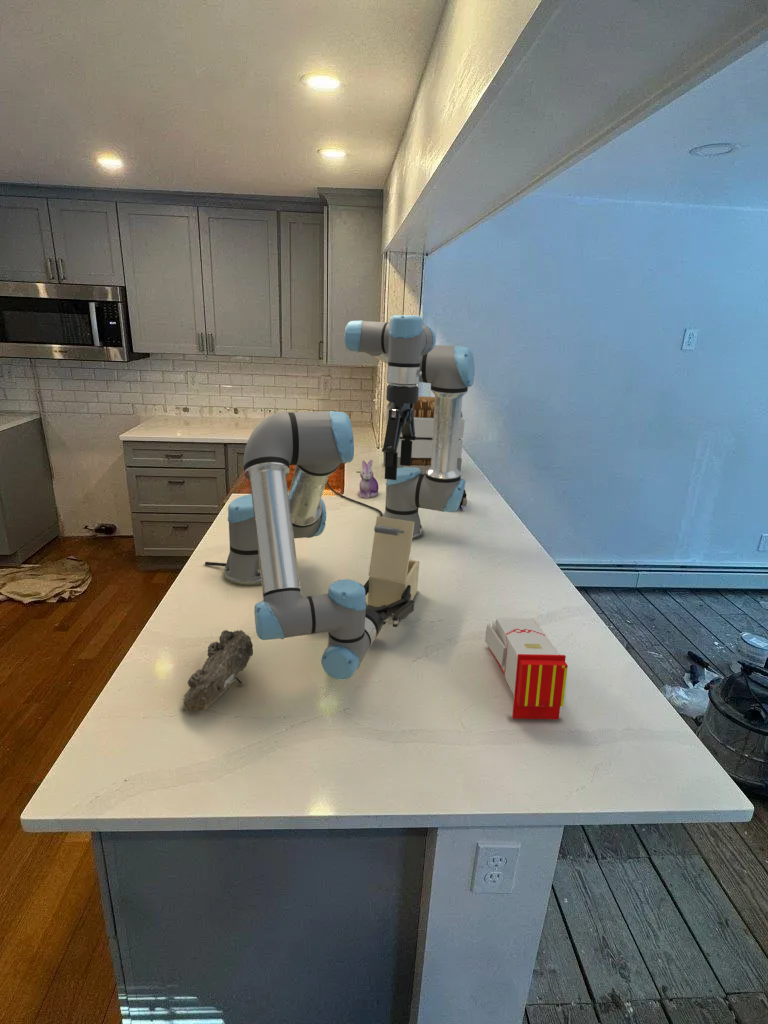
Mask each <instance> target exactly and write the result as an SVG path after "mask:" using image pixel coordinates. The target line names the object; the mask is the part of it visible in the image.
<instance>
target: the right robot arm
mask: <svg viewBox="0 0 768 1024" xmlns="http://www.w3.org/2000/svg"><path fill="white" fill-rule="evenodd" d="M343 338H344V339H343V340H344V345H345V347H346V349H347V351H349V352H355V353H365V354H367V355H370V356H371V357H373V358H375V359H377V360H379V361H380V362H382V363H384V364H385V365H387V371H386V372H387V373H386V382H387V384H388V385H386V397H385V398H386V401H387V402H388V403H389V402H393V403H394V407H393V409H389V415H388V423H386V426H387V429H386V428H385V433H384V434H385V436H384V441H383V446H382V448H381V452H382V453H384V452H386V459H385V466H384V480H386V482H385V504H384V505H385V507H384V508H385V509H384V513H383V512H382V510H380V509H379V508H376V507H374V506H371V505H369V504H367V503H363V502H361V501H358V500H355V499H353V498H350V497H347V496H345V495H344V494H341V493H339V492H337V491H336V490H335V489H333V488H332V486H331V485H330V484H329V482H328V481H327V483H326V486H327V487H328V488H329V489H330V491H331V492H332V493H334V494H335V495H336V496H337V495H338V496H340V497H341V498H343V499H345V500H347V501H348V500H349V501H351V502H354V503H357V504H359V505H361V506H365V507H367V508H369V509H372V510H374V511H377V512H378V513H379V515H380V516H379V517H385V518H392V519H398V520H405V521H412V522H415V523H414V530H413V537H412V540H415V539H418V538H420V537H421V536H422V535H423V531H424V526H423V525H422V524H421V518H420V515H419V509H424V510H431V511H435V512H436V511H437V512H441V513H456V512H457V511H458V509H459V508H460V507H459V505H460V503H461V500H462V496H463V492H464V489H466V480H465V479H464V478H461V475H462V473H460V471H459V470H458V469H457V456H458V444H459V431H460V419H461V418H462V417H461V412H462V406H463V398H464V397H463V396H464V395H466V394H467V393H468V391H469V388H471V387H473V385H474V383H475V370H476V369H475V358H474V354H473V352H472V350H471V348H469V347H466V346H459V345H444V344H443V345H441V344H436V341H437V337H436V332H435V330H434V329H433V328H432V327H431V326H430V325H428V324H425V323H424V319H423V318H422V316H421V315H408V314H393V315H391V317H390V320H389V322H388V321H387V322H386V321H385V322H384V321H371V320H363V319H360V320H350V321H349V322H348V323H347V324H346V326H345V329H344V335H343ZM419 383H425V384H430V391H431V392H432V394H434V397H435V405H434V422H433V438H432V455H431V465H430V466H429V468H427V469H426V470H425V473H422V470H421V468H419V467H417V466H411V456H412V441H411V440H416V436H415V427H414V412H413V408H414V403H416V402H417V401H418V397H419V392H420V391H419V390H420V388H419V386H418V384H419ZM401 432H402V437H403V439H405V440H401V456H400V465H403V466H404V467H402V468H397V459H398V453H397V447H398V443H399V439H400V435H401ZM390 446H392V447H390ZM458 507H459V508H458Z"/></svg>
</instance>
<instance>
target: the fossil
mask: <svg viewBox="0 0 768 1024" xmlns="http://www.w3.org/2000/svg"><path fill="white" fill-rule="evenodd" d="M220 633H221V634H220V635H219V637H218V639H219V640H218V641H213V642H210V643H209V645H208V647H207V658H206V660H205V661H204V664H203V665H202V667H201V669H200V668H199V669H197V670H196V671H195V672H194V673H192V674H191V675H190V676H189V678H188V680H187V685H188V687H189V689H188V690H187V691H186V693H185V694H184V696H183V697H184V698H183V699H182V701H183V705H184V706H183V707H184V709H186V710H187V709H188V710H189V711H191V712H195V711H198V710H203V709H204V710H206V709H207V708H209V707H210V706H211V705H212V704H213V703H214V702H215V701H217V700H218V699H219V697H220V696H221V695H223V693H225V692H226V691H227V690H228V689H229V688H230V686H231V685H232V683H233V682H235V681H237V682H238V684H240V685H241V684H242V683H243V682H242V680H241V679H240V678H239V677H238V676H239V674H240V673H241V672H244V670H245V669H246V668H247V666H248V663H249V661H250V659H251V657H252V656H253V655H254V643H253V641H252V638H251V637H250V635H249V634H246V633H245V631H243V630H242V629H240V630H238V629H237V630H233V631H231V630H230V631H229V630H227V629H225V630H222V632H220Z"/></svg>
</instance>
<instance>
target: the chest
mask: <svg viewBox="0 0 768 1024" xmlns="http://www.w3.org/2000/svg"><path fill="white" fill-rule="evenodd" d="M419 570H420V561H419V560H415V559H411V558H409V565H408V572H407V578H406V582H401V581H396V580H390V579H385V578H379V577H373V576H368V579H369V590H368V594H367V606H368V605H371V606H374V607H380V606H383V605H386V606H387V605H389V604H391V603H394V602H396V601H398V600H400V599H401V596H402V594H403V593H404V591H405V589H406V588H407V586H408V585H411V590H410V594H411V600H413V601H414V598H415V597H416V595H417V593H418V586H419V585H418V584H419Z"/></svg>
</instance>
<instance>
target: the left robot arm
mask: <svg viewBox="0 0 768 1024" xmlns="http://www.w3.org/2000/svg"><path fill="white" fill-rule="evenodd" d="M353 431H354V430H353V426H352V423H351V419H350V417H349V415H348V414H347V413H346V412H345V411H333V410H329V411H328V410H327V411H323V410H322V411H293V412H292V411H290V412H289V411H279V412H276V413H273V414H270V415H268V416H267V417H265V418H264V419H262V420H261V421H260V422H259V423H258V424H257V425H256V427H255V428H254V429H253V430H252V432H251V434H250V436H249V438H248V440H247V442H246V445H245V447H244V448H245V449H244V453H243V459H242V460H243V461H242V462H243V463H242V464H243V473H244V474H243V475H244V477H245V478H246V479H247V480H249V483H250V492H251V493H249V494H244V495H242V496H238V497H236V498H235V499H233V500H232V501H231V502H230V503H229V504H228V507H227V522H228V533H229V534H228V536H229V538H228V540H229V541H228V542H229V553H228V556H227V560H226V562H217V561H215V562H213V561H204V565H205V566H215V567H224V578H225V579H226V580H227V582H229V583H231V584H234V585H236V586H237V585H238V586H246V587H250V586H260V585H261V591H262V598H263V599H262V601H258V602H256V603H255V604H254V610H253V612H254V613H253V615H254V625H255V632H256V635H257V638H258V639H260V640H262V641H270V640H279V639H280V640H285V639H287V638H293V637H294V638H295V637H302V636H307V635H314V634H324V633H327V634H328V635H327V637H328V638H327V639H328V640H327V642H328V643H327V647H326V648H325V649H324V651H323V654H322V656H321V659H320V661H321V662H320V663H321V667H322V669H323V671H324V672H325V674H326V675H328V677H330V678H332V679H335V680H339V681H344V680H348V679H349V678H351V677H353V675H354V674H355V673H356V671H357V670H358V669H359V668H360V667H361V664H362V662H363V660H364V659H365V657H366V655H367V653H368V651H369V650H370V648H371V646H372V645H373V644H374V642H375V640H376V638H377V637H378V635H379V633H380V631H381V630H382V627H383V626H385V625H386V624H391V625H392V628H397V627H398V626H399V624H400V623H401V622H402V621H403V620H405V618H407V617H408V616H409V615H410V614H411V613H413V612H414V611H415V600H414V599H413V600H411V594H410V590H411V585H408V586H407V588H406V589H405V591H404V593H403V594H402V596H401V599H400V600H398V601H396V602H394V603H391V604H389V605H387V606H386V605H383V606H380V607H374V606H371V605H368V603H367V596H368V590H369V578H368V579H367V581H366V582H365V583H364V585H363V584H362V583H361V582H359V581H356V580H353V579H338V580H337V581H333V582H332V583H330V585H329V587H328V591H327V593H325V594H324V593H323V594H317V595H315V594H314V595H308V596H306V595H305V596H302V589H301V581H300V573H299V566H298V565H299V564H298V558H297V557H298V556H297V551H296V543H295V539H304V538H305V539H310V538H313V537H318V536H319V537H320V536H321V535H322V534H323V533H324V530H325V528H326V521H327V507H326V503H325V502H324V500H323V499H322V497H323V494H324V491H325V488H326V486H327V482H328V479H329V477H330V475H332V474H334V473H335V472H336V471H337V470H338V469H339V467H340V465H341V464H344V465H345V464H348V463H351V462H352V461H353V460H354V457H355V456H354V455H355V441H354V440H355V439H354V432H353ZM290 466H294V471H293V475H292V479H291V483H290V487H289V489H288V482H287V476H288V475H289V474H290V473H291V468H290Z"/></svg>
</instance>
